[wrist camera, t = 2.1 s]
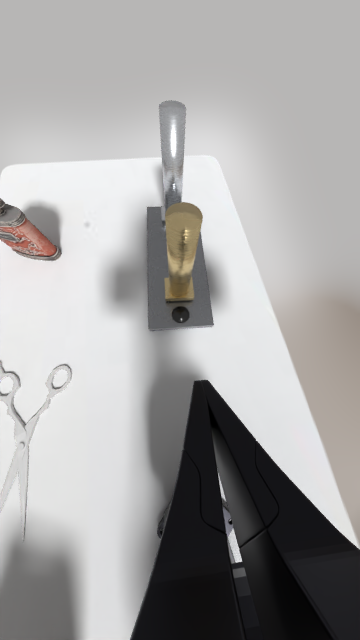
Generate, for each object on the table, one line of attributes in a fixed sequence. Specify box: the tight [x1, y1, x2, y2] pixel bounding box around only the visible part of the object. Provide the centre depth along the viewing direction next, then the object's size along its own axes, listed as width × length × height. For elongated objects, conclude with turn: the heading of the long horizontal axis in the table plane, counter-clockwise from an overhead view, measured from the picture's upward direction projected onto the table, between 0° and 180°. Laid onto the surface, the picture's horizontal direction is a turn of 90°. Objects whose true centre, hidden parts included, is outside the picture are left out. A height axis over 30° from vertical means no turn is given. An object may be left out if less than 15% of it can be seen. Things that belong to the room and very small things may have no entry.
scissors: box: [0, 362, 72, 542], centre depth 18 cm, size 11×1×20 cm
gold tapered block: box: [164, 202, 203, 301], centre depth 18 cm, size 4×4×12 cm
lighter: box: [0, 199, 62, 261], centre depth 22 cm, size 8×3×10 cm, turn 80°
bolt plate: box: [147, 101, 214, 331], centre depth 20 cm, size 25×10×14 cm, turn 4°
